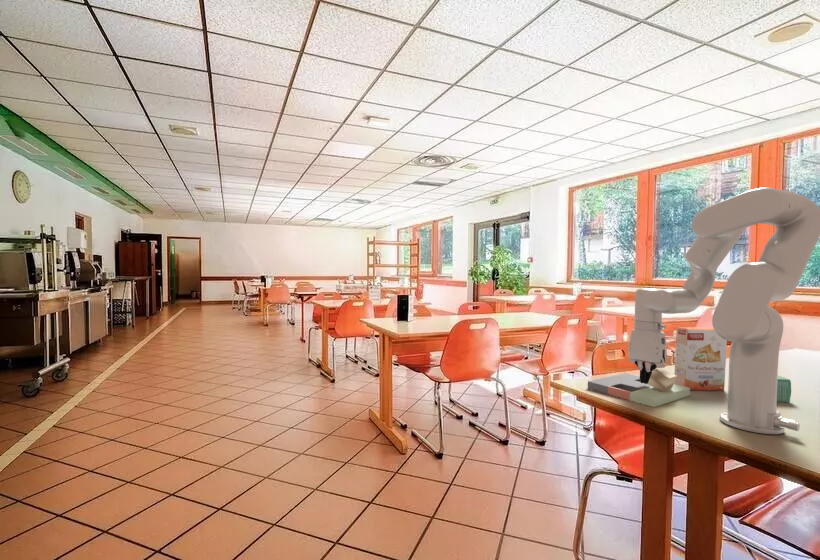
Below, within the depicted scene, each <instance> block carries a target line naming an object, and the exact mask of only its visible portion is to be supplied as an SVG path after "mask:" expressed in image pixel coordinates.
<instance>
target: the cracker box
mask: <svg viewBox="0 0 820 560" xmlns="http://www.w3.org/2000/svg"><path fill="white" fill-rule="evenodd" d="M675 339H676V340H675V354H674V355H675V357H674V359H675V360H674V375H676V376H677V377H676V379H675V382H674V384H676V385H680V386H684V387H689V388H690V391H693V390H694V391H725V386H726V385H725V382H726V364H727V343H728V340H725V339H723V338H721V337H720V336H719V335H718V334H717V333H716V332H715V330H714V328H713V327H694V326H693V327H691V326H687V327H686V326H677V327H676V336H675Z"/></svg>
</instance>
